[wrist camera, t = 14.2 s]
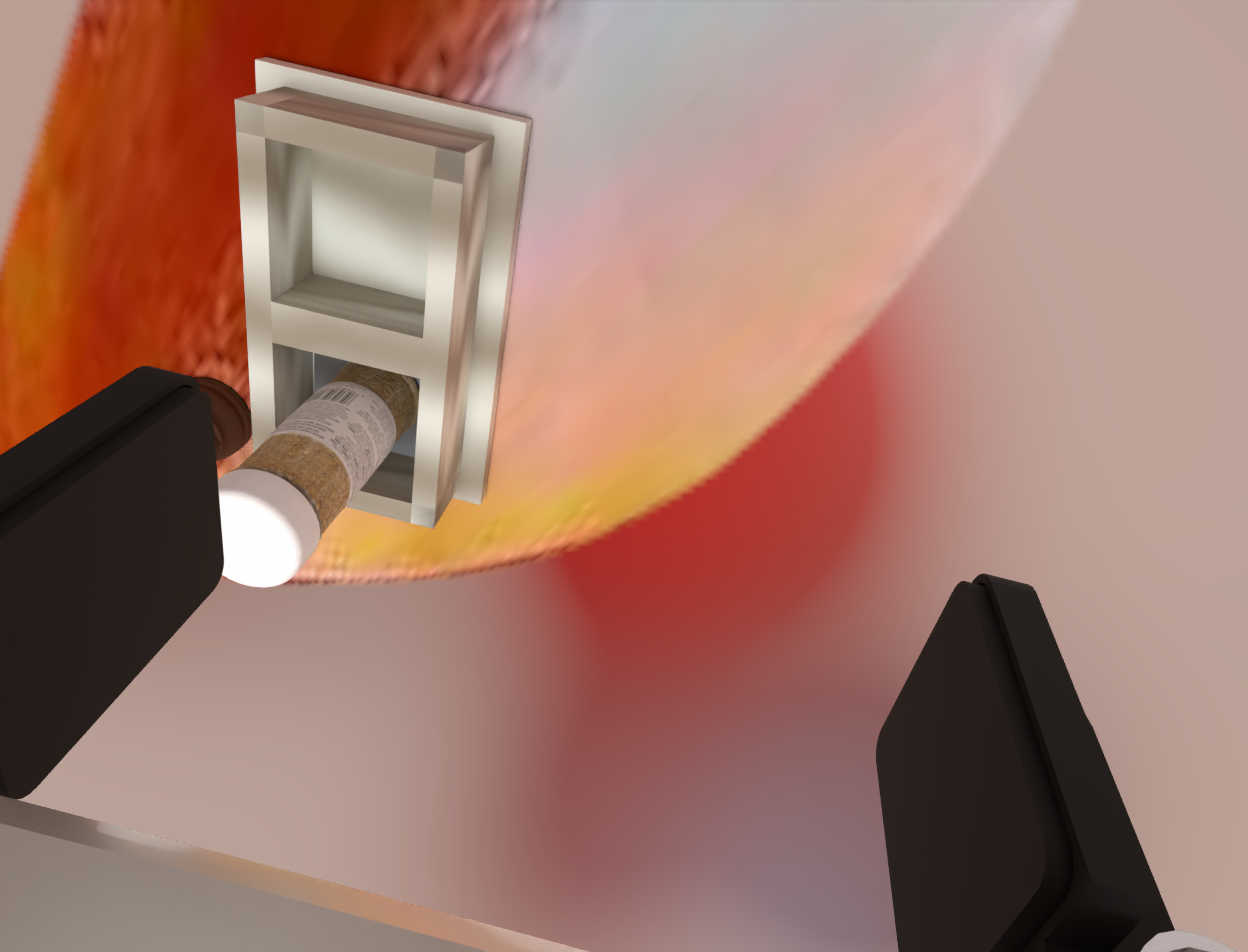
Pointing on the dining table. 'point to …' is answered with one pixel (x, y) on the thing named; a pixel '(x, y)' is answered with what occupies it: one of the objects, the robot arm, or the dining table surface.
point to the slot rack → (380, 264)
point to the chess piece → (227, 418)
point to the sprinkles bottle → (310, 472)
